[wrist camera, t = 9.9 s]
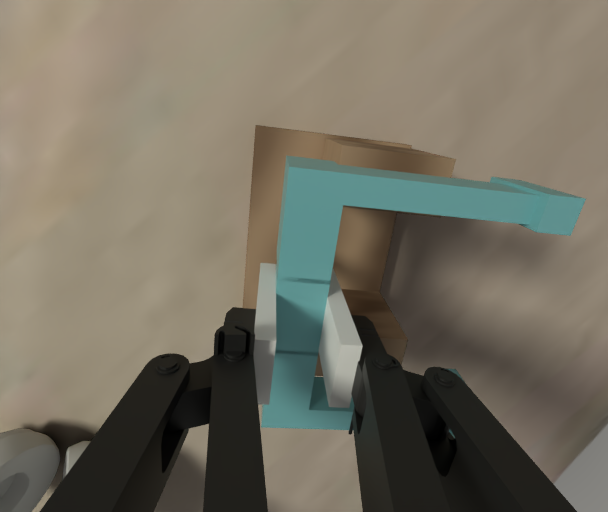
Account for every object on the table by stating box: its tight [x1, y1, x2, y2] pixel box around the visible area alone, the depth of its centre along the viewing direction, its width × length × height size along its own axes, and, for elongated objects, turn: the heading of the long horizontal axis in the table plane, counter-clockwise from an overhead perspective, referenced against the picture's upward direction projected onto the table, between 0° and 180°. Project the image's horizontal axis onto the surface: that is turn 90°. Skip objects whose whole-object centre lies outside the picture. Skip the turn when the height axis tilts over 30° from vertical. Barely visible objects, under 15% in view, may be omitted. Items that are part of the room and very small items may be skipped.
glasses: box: [261, 155, 586, 438], centre depth 17 cm, size 11×13×4 cm
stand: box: [243, 125, 456, 376], centre depth 25 cm, size 11×15×8 cm
